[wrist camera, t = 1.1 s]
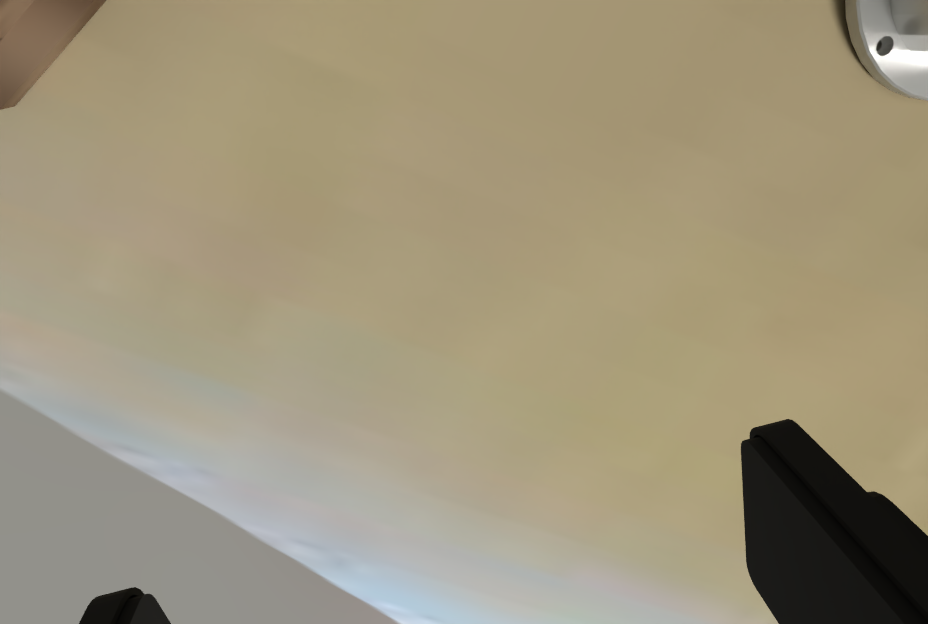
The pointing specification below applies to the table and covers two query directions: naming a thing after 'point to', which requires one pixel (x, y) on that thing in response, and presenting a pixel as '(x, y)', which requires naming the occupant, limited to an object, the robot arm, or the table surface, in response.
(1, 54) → the holder
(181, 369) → the table surface
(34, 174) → the table surface
